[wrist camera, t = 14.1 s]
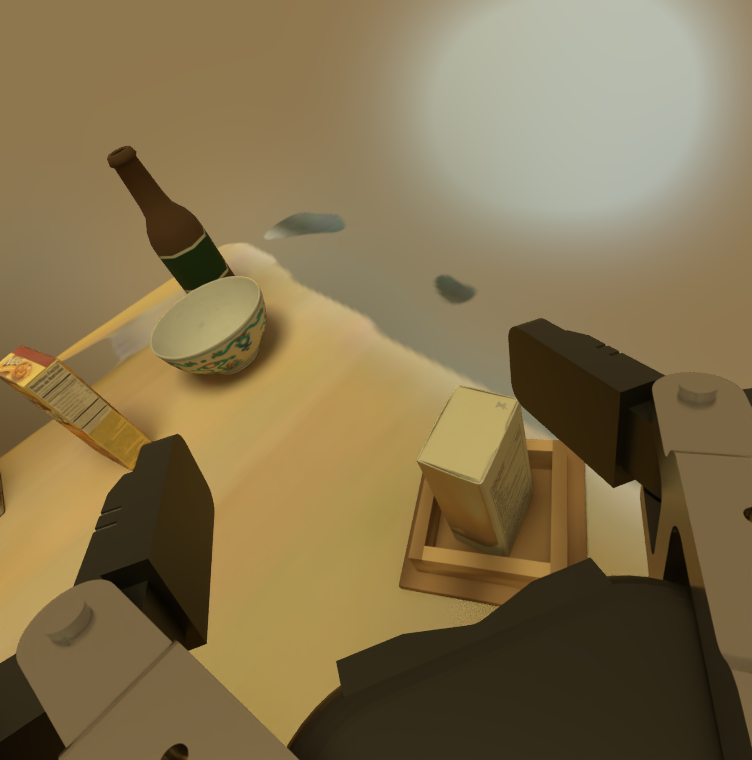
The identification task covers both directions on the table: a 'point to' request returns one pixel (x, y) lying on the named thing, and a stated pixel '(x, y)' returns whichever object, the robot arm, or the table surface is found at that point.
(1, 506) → the coffee box
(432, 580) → the holder
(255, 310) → the chinaware
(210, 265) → the beer bottle
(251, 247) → the table surface
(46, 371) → the candy box
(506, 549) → the skincare box
